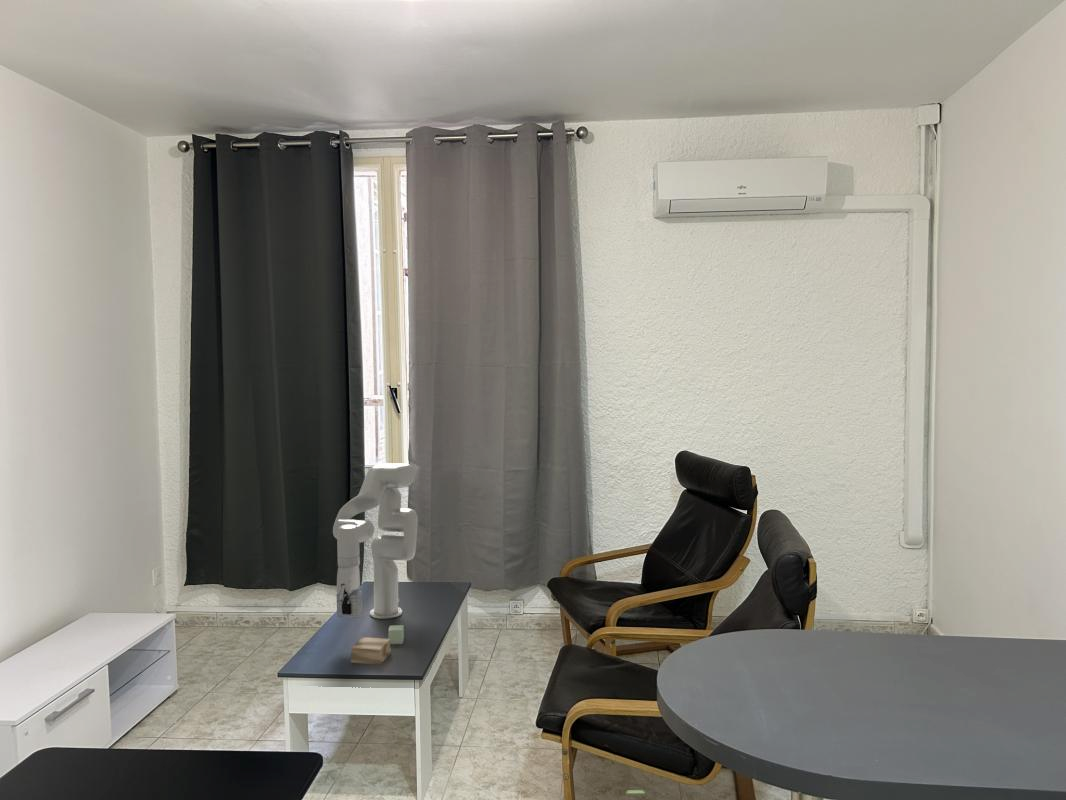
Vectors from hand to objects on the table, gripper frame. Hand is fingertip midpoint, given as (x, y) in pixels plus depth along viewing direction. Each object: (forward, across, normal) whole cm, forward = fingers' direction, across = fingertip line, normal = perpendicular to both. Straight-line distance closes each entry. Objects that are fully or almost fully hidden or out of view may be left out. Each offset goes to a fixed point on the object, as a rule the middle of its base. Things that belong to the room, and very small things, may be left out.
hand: (349, 610), depth 263 cm
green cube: (+13, -8, +14) cm, 21 cm away
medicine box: (+2, 0, 0) cm, 2 cm away
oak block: (+13, +8, +11) cm, 19 cm away
